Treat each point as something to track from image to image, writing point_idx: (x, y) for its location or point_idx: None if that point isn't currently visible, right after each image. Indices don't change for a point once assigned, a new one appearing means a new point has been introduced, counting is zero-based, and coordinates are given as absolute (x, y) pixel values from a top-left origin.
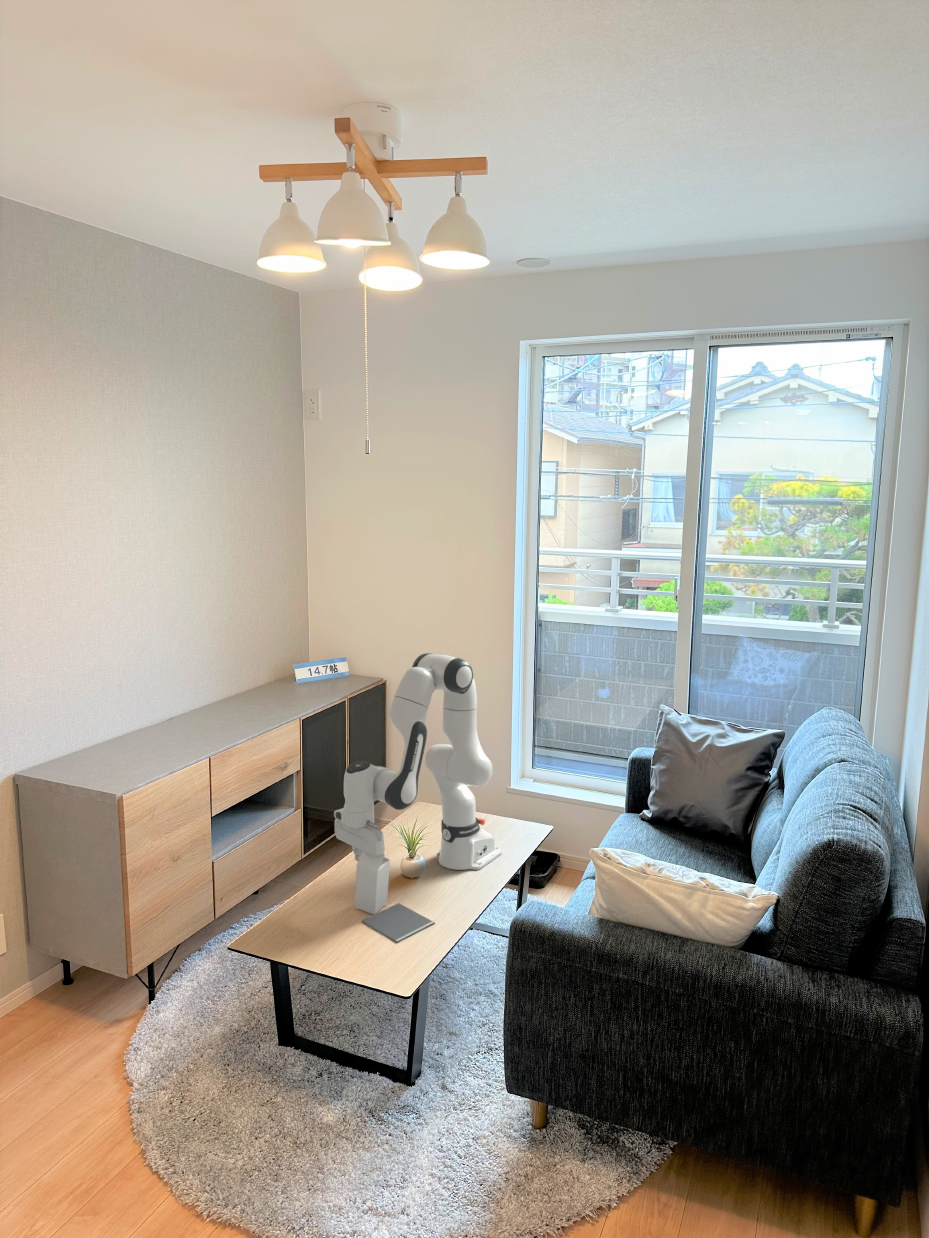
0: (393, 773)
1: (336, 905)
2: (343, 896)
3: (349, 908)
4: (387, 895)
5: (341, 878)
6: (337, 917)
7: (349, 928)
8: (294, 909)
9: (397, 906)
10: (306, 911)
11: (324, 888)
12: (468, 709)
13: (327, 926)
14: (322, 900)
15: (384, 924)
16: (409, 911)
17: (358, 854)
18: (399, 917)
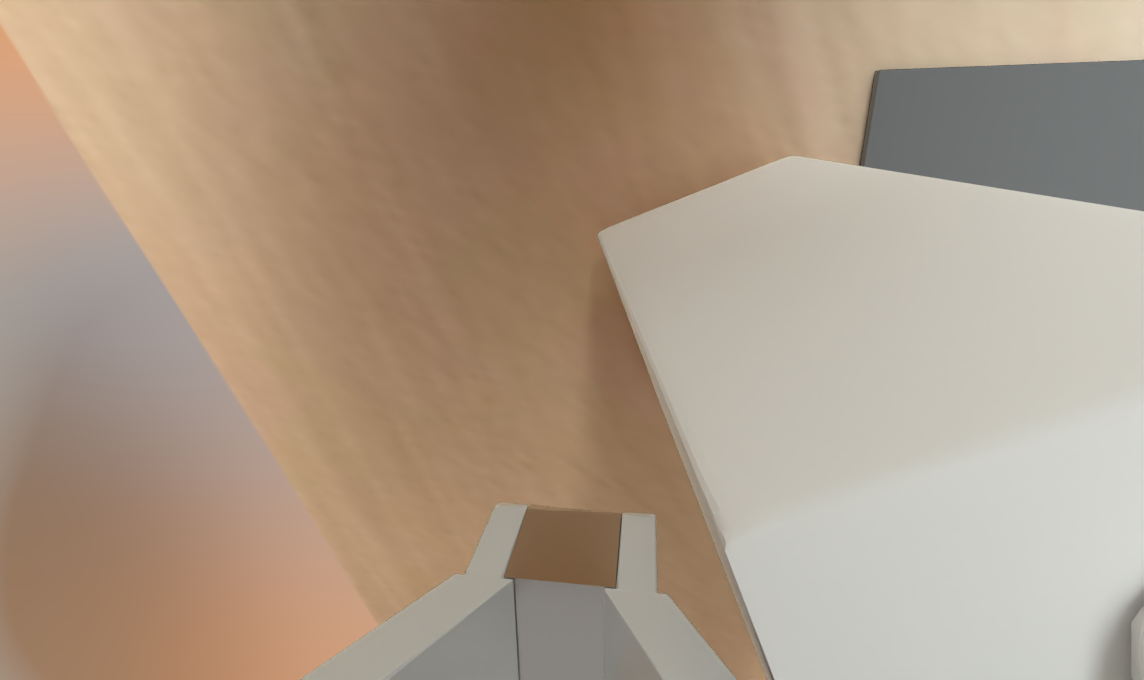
0: None
1: (512, 417)
2: (437, 315)
3: (607, 387)
4: (827, 161)
5: (182, 155)
6: (643, 498)
7: None
8: (393, 578)
9: (914, 123)
10: (455, 557)
11: (261, 334)
12: None
13: (682, 585)
14: (398, 433)
15: None
16: (1084, 99)
17: (513, 635)
18: None
